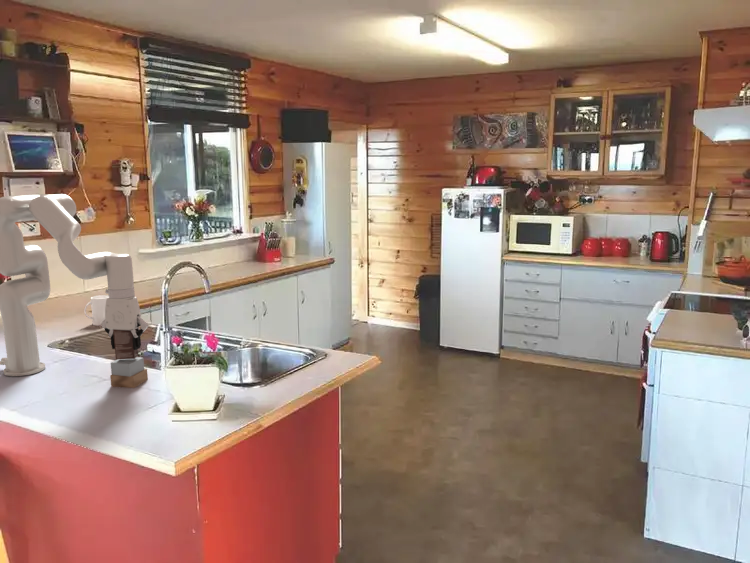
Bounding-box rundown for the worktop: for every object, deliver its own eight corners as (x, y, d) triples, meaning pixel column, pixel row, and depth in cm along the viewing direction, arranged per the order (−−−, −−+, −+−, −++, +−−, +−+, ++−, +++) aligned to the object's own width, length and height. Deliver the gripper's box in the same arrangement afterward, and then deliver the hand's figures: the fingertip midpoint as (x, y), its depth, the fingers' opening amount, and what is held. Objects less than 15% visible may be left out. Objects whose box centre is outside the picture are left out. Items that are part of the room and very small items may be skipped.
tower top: (111, 374, 200) (110, 362, 199) (126, 367, 207) (125, 356, 206) (130, 376, 198) (129, 364, 197) (144, 369, 205) (143, 357, 204)
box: (138, 355, 204) (135, 319, 202) (134, 359, 199) (131, 322, 197) (119, 355, 203) (116, 319, 201) (114, 360, 199) (111, 323, 197)
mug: (89, 328, 272) (86, 301, 269) (81, 324, 278) (79, 298, 275) (116, 323, 280) (114, 296, 277) (108, 319, 286) (106, 294, 283)
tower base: (111, 387, 200) (110, 375, 199) (125, 379, 208) (124, 367, 207) (134, 388, 199) (133, 376, 198) (148, 380, 206) (146, 368, 205)
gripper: (89, 295, 195) (94, 350, 199) (140, 296, 192) (145, 353, 196) (103, 290, 203) (108, 343, 206) (153, 291, 200) (157, 346, 203)
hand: (126, 347), depth 201 cm, fingers closed on box, 6 cm apart
